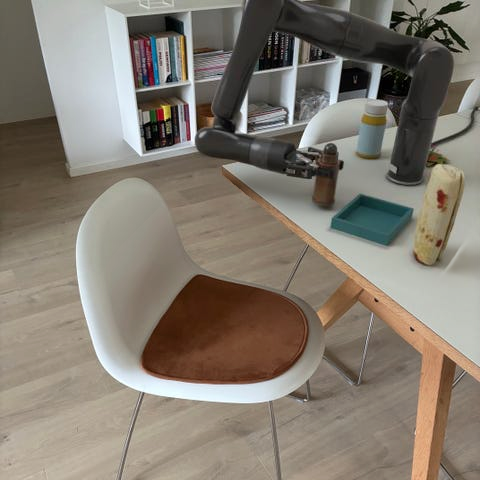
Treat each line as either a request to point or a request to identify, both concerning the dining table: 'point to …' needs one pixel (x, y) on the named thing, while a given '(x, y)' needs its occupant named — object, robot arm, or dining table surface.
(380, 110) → the bottle
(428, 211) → the food model
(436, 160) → the lily flower
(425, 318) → the dining table surface
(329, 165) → the pepper mill
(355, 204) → the tray
